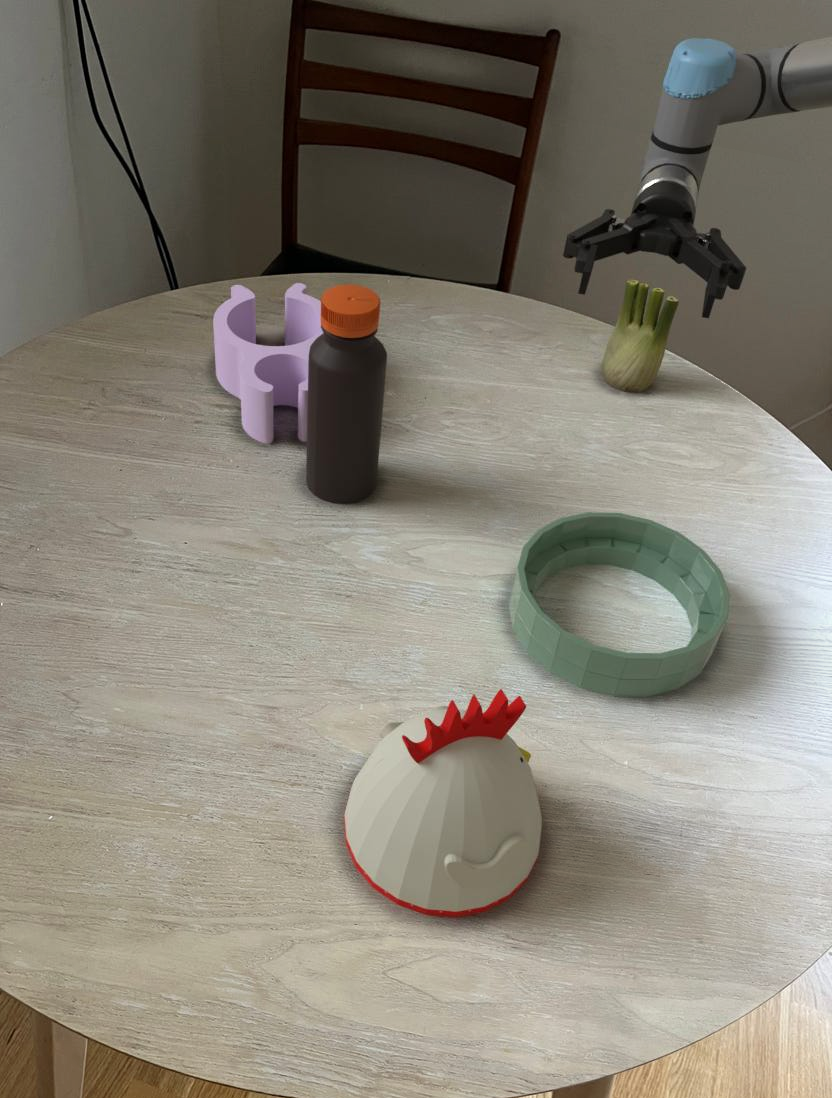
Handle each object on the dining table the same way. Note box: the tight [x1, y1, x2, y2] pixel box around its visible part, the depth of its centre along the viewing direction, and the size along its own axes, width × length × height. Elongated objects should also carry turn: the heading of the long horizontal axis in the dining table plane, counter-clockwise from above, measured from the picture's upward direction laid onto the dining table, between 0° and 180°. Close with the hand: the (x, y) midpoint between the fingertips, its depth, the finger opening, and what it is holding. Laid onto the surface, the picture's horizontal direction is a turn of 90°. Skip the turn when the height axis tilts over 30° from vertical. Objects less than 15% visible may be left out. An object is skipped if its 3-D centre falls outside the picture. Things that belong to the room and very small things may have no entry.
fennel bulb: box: [601, 279, 680, 393], centre depth 113 cm, size 6×5×12 cm
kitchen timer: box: [343, 688, 543, 918], centre depth 72 cm, size 14×14×15 cm
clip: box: [212, 282, 323, 445], centre depth 111 cm, size 20×12×7 cm, turn 8°
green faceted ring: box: [508, 511, 731, 698], centre depth 90 cm, size 17×17×6 cm
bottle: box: [305, 284, 388, 505], centre depth 96 cm, size 7×7×20 cm
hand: (645, 294), depth 117 cm, fingers open, 13 cm apart
